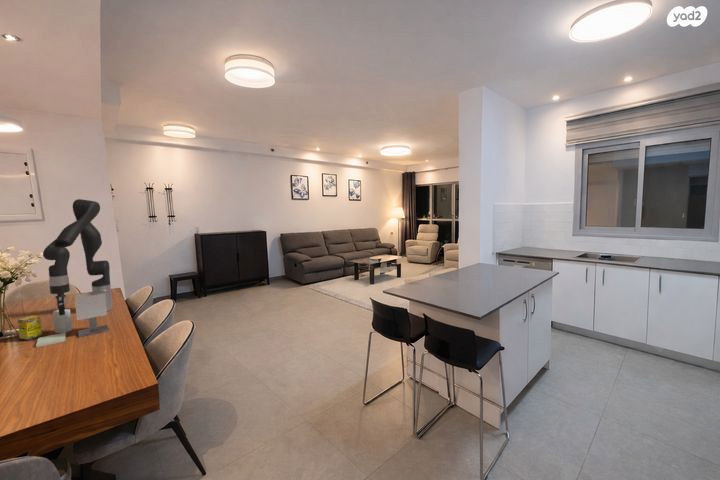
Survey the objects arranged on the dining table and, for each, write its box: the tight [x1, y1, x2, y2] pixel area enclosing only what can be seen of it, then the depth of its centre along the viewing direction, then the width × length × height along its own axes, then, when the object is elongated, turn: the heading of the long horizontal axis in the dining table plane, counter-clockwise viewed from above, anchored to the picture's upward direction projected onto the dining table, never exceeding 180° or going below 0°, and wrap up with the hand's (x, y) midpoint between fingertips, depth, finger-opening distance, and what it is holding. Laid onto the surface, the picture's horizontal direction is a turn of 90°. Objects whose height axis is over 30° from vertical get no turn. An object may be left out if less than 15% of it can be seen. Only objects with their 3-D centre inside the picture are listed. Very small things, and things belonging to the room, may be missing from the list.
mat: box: [35, 332, 67, 348], centre depth 152 cm, size 11×10×1 cm
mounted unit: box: [74, 291, 109, 338], centre depth 162 cm, size 9×12×21 cm
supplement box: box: [17, 315, 43, 342], centre depth 155 cm, size 6×6×11 cm
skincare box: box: [52, 308, 73, 334], centre depth 163 cm, size 6×4×12 cm
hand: (62, 313), depth 163 cm, fingers open, 8 cm apart
